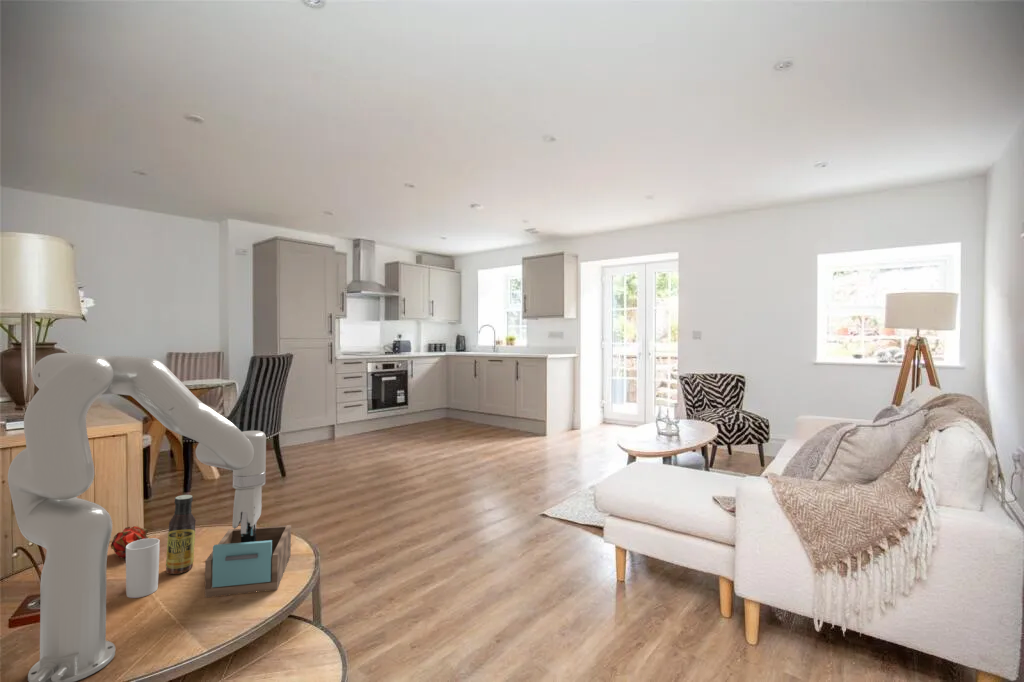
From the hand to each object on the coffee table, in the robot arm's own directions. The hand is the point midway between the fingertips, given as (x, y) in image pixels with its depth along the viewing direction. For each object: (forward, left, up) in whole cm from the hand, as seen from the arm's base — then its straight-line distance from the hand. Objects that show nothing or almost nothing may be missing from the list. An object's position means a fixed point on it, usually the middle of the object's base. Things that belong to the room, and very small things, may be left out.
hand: (248, 549), depth 129 cm
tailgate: (-6, 0, -6) cm, 9 cm away
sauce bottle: (+11, +19, -9) cm, 24 cm away
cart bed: (+4, 0, -8) cm, 9 cm away
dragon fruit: (+24, +36, -9) cm, 44 cm away
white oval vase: (+2, +24, -9) cm, 26 cm away
